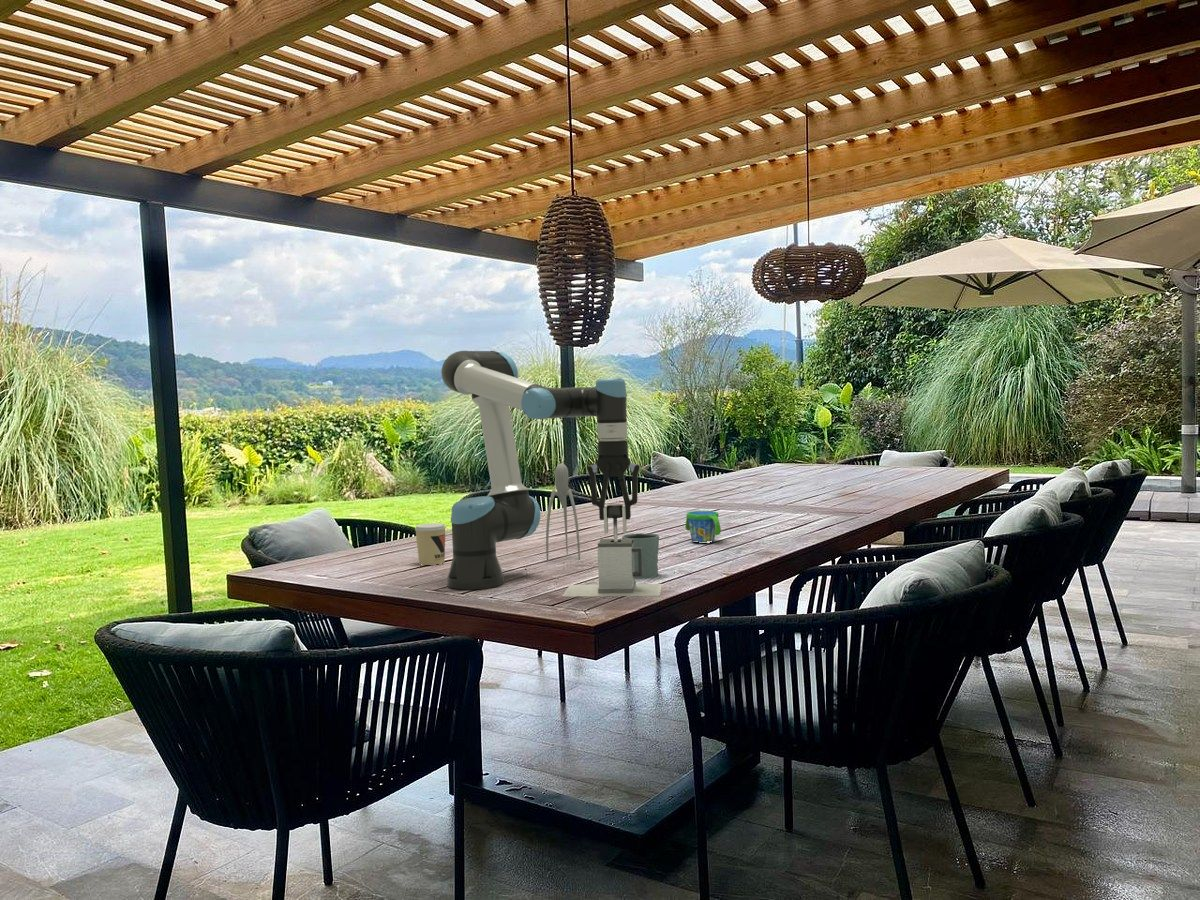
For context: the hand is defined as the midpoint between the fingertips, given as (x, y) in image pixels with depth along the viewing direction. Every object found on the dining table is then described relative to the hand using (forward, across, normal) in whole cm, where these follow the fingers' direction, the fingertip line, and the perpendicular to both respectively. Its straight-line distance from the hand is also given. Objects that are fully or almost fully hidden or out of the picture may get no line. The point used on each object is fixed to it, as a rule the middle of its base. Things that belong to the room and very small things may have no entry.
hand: (615, 532), depth 231 cm
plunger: (+11, 0, 0) cm, 11 cm away
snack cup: (+16, +22, +80) cm, 84 cm away
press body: (+15, 0, 0) cm, 15 cm away
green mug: (+16, +5, +19) cm, 25 cm away
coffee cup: (+16, -62, +47) cm, 79 cm away
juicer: (+16, -21, +53) cm, 59 cm away
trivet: (+16, -1, 0) cm, 16 cm away
